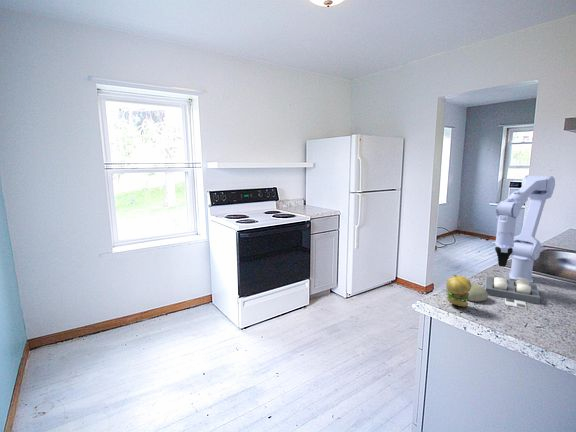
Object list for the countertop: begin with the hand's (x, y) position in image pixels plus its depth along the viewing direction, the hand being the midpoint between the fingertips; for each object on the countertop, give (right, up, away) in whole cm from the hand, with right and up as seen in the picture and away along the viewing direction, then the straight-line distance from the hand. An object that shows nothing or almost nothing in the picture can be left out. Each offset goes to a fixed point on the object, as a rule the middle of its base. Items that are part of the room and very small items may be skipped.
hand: (502, 265), depth 123 cm
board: (+1, -10, -3) cm, 10 cm away
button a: (0, -8, +1) cm, 8 cm away
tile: (-5, -11, -13) cm, 18 cm away
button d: (+2, -9, -8) cm, 12 cm away
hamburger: (-26, -12, -15) cm, 32 cm away
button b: (-4, -8, -5) cm, 10 cm away
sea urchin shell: (-16, -11, -8) cm, 21 cm away
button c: (+6, -8, -3) cm, 10 cm away
